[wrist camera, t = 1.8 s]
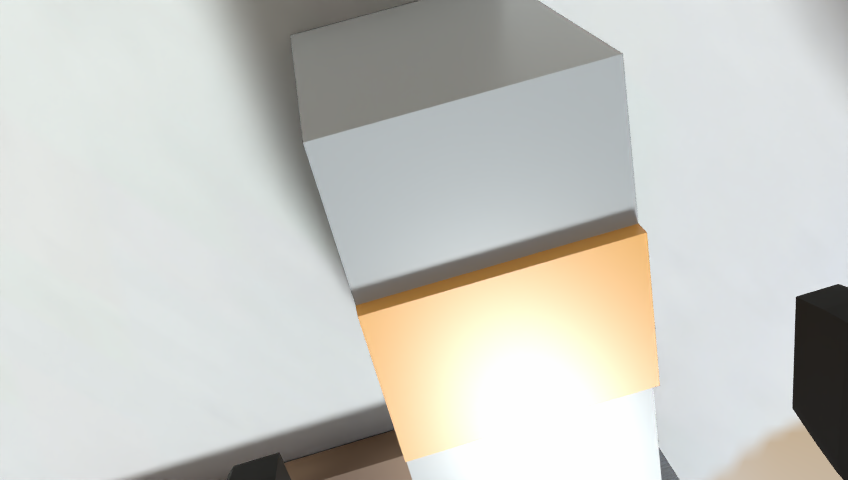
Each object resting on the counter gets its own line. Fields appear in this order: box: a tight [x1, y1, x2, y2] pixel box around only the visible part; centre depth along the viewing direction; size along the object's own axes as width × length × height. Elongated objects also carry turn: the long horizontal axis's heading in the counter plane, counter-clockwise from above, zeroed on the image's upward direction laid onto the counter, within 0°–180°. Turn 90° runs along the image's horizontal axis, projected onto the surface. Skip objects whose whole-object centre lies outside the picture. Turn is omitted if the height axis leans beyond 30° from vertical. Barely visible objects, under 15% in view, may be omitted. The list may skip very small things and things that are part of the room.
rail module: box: [290, 0, 661, 480], centre depth 15 cm, size 4×8×6 cm, turn 13°
